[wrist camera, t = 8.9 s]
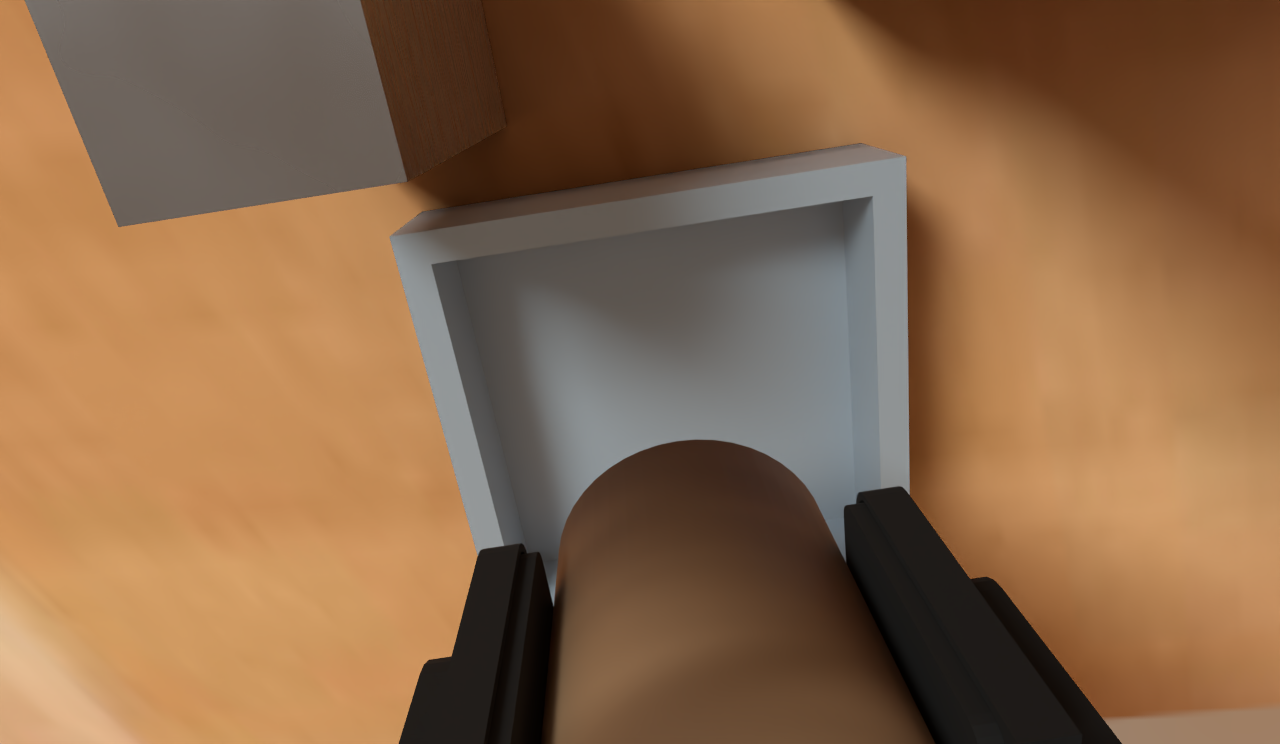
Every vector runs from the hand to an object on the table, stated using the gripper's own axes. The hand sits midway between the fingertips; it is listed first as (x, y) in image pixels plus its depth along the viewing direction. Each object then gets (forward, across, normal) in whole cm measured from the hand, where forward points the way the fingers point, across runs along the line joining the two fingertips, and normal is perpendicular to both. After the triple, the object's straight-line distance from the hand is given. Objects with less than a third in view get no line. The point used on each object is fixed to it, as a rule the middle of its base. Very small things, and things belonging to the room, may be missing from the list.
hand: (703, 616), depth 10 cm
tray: (+8, 0, 0) cm, 8 cm away
